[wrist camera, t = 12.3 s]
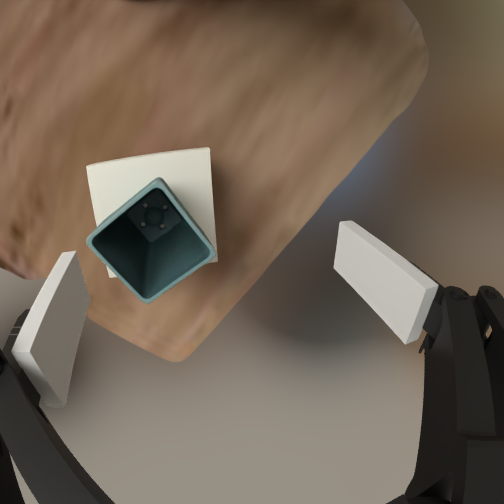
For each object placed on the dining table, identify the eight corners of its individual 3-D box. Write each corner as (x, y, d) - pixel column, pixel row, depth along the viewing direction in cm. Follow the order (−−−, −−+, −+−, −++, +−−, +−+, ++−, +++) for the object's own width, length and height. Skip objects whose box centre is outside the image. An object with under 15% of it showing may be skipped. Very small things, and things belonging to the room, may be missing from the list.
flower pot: (148, 264, 35) (146, 307, 27) (102, 210, 31) (82, 241, 23) (206, 222, 35) (219, 255, 27) (161, 162, 31) (159, 178, 23)
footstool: (101, 157, 35) (86, 166, 28) (201, 142, 38) (209, 148, 31) (117, 250, 41) (109, 277, 34) (209, 237, 44) (218, 261, 37)
